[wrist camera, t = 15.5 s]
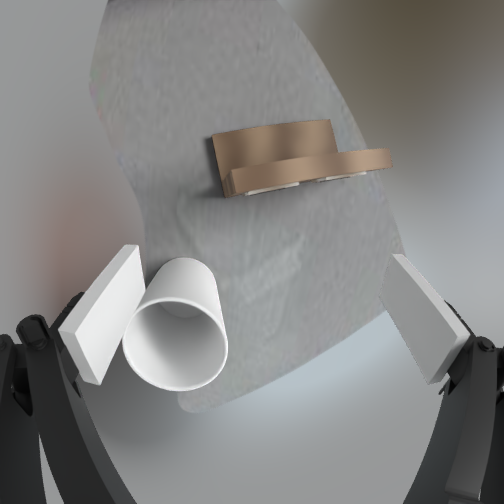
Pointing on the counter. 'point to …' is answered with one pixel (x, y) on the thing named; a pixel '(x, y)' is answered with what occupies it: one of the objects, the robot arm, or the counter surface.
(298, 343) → the counter surface
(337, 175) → the label board
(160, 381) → the cup
